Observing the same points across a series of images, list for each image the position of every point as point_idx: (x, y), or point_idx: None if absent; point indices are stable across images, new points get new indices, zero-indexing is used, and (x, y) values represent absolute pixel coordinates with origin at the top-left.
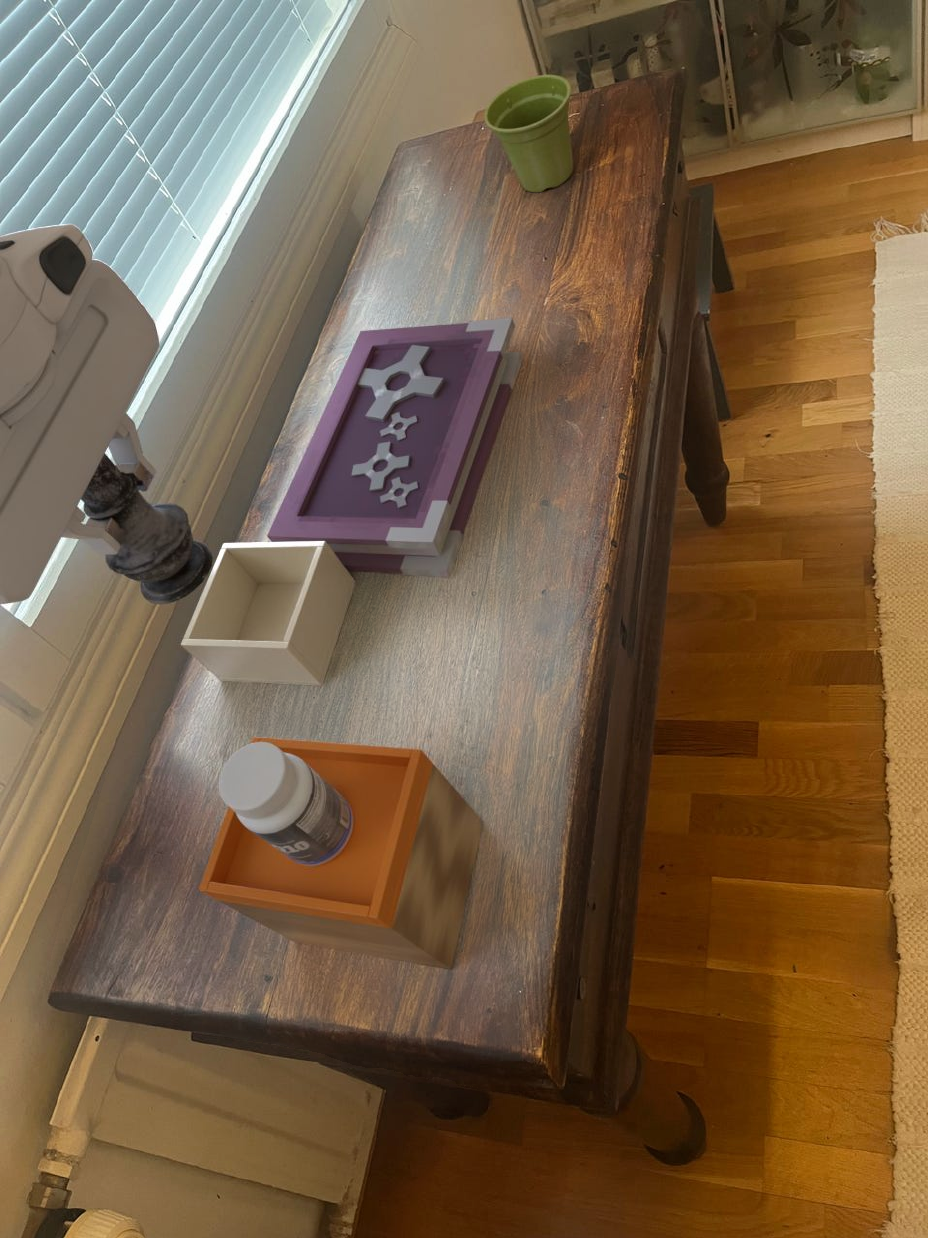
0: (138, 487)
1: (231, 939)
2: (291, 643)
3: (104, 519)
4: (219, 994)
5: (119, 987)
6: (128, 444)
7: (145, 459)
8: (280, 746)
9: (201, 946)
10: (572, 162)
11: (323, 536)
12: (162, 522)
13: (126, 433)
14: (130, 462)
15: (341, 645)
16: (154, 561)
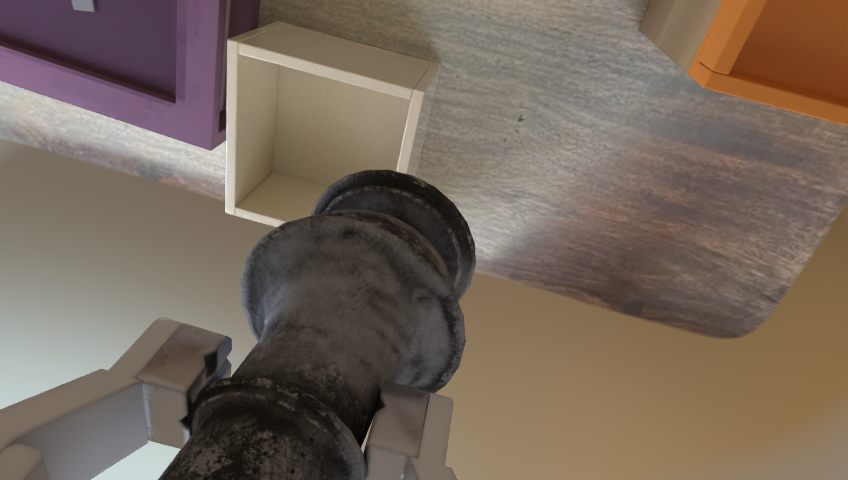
0: (222, 362)
1: (776, 165)
2: (413, 87)
3: (370, 460)
4: (844, 174)
5: (776, 291)
6: (72, 426)
7: (125, 356)
8: (753, 22)
9: (768, 202)
10: None
11: (213, 52)
12: (326, 284)
13: (20, 450)
14: (143, 403)
15: (380, 38)
16: (443, 294)
